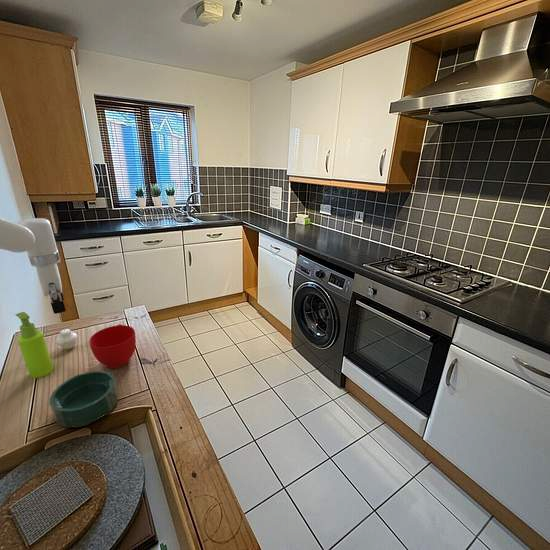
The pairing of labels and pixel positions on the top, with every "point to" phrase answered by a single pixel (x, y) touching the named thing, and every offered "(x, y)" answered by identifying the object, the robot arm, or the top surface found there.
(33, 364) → the soap dispenser
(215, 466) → the top surface
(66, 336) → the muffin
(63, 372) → the top surface
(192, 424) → the top surface
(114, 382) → the dark green pet bowl
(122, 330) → the red bowl
